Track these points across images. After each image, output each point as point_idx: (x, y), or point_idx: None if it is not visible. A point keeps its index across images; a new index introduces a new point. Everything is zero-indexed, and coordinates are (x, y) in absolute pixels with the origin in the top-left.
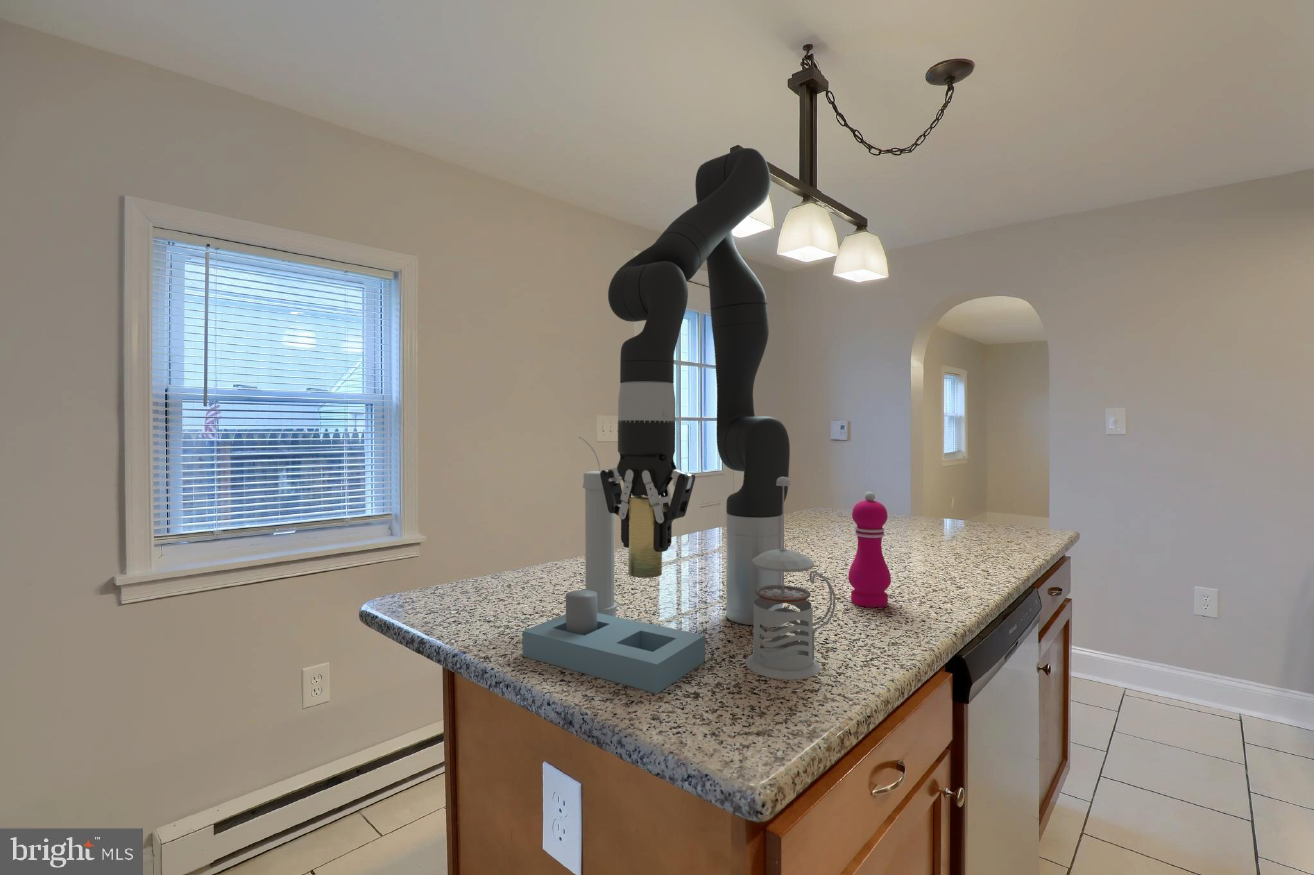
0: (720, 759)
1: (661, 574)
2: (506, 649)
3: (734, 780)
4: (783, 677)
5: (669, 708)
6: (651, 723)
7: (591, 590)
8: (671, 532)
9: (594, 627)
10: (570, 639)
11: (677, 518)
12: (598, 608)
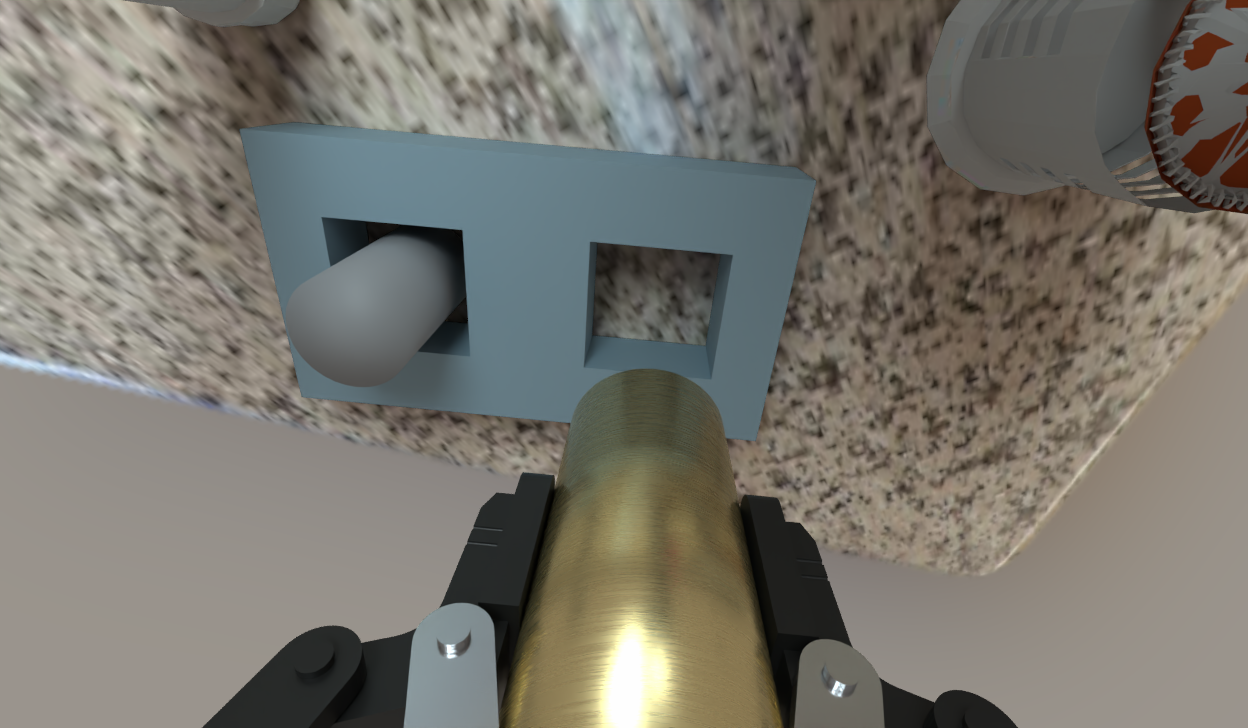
0: (927, 543)
1: (722, 421)
2: (266, 344)
3: (956, 575)
4: (1055, 186)
5: (793, 443)
6: (782, 498)
7: (149, 1)
8: (833, 595)
9: (449, 293)
10: (459, 394)
11: (925, 704)
12: (241, 2)
